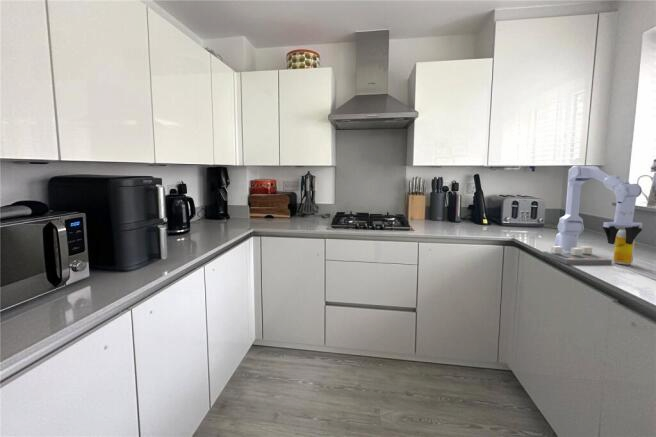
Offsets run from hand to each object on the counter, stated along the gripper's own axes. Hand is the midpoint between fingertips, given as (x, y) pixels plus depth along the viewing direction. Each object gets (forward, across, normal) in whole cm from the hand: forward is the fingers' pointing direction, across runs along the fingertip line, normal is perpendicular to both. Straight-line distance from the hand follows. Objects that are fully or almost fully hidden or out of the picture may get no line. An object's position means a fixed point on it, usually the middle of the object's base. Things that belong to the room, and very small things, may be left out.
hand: (619, 243), depth 132 cm
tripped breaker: (+8, -10, +10) cm, 16 cm away
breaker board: (+10, -10, +10) cm, 17 cm away
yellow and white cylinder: (+10, +6, +4) cm, 12 cm away
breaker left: (+8, -17, +13) cm, 23 cm away
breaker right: (+8, -3, +13) cm, 15 cm away
